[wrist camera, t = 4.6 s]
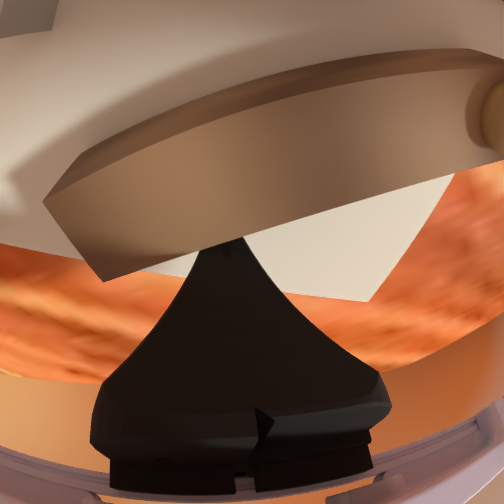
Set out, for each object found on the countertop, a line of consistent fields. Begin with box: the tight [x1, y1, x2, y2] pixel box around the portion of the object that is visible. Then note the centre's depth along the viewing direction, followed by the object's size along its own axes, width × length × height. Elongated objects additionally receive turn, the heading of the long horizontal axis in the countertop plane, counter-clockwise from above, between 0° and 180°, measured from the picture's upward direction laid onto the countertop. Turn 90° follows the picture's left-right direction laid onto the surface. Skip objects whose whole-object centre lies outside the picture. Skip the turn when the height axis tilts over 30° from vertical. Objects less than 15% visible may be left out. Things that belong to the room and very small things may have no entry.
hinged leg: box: [42, 48, 504, 282], centre depth 7 cm, size 14×3×4 cm, turn 107°
